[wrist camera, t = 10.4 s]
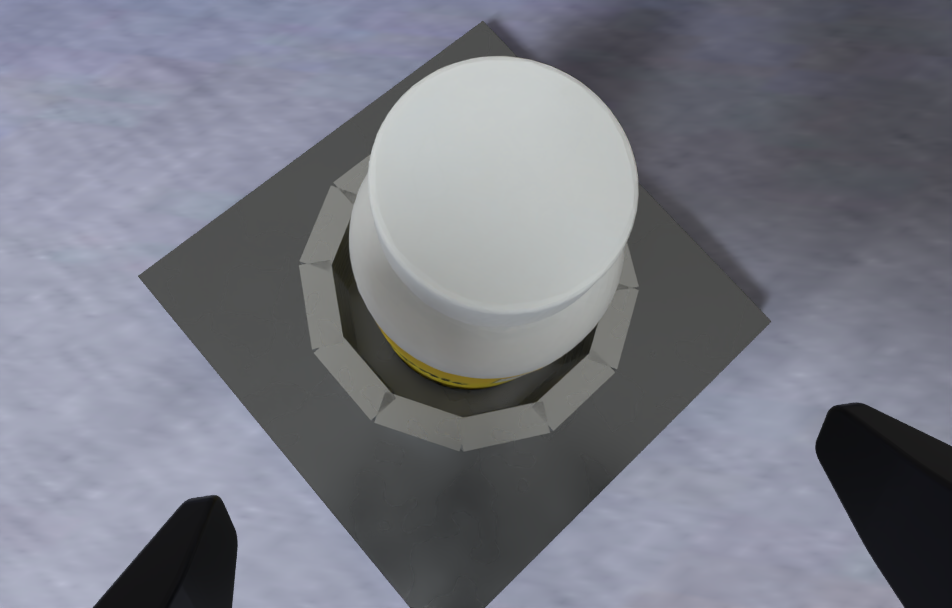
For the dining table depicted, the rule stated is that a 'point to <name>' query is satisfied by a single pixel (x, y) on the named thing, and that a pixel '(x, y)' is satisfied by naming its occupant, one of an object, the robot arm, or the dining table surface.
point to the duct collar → (424, 402)
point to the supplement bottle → (492, 220)
